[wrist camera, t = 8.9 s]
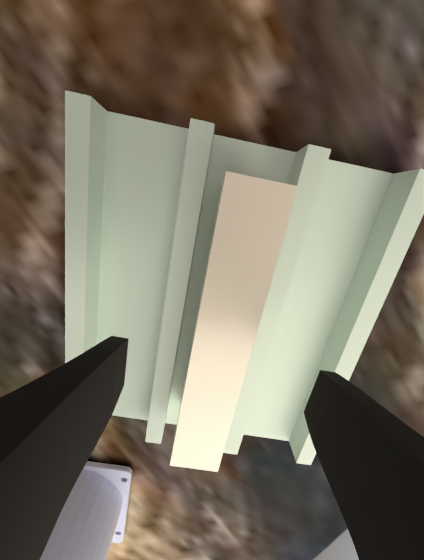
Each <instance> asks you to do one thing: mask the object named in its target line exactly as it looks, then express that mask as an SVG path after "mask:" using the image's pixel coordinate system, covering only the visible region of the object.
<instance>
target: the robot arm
mask: <svg viewBox="0 0 424 560" xmlns="http://www.w3.org/2000/svg"><path fill="white" fill-rule="evenodd" d="M128 340H129V339H128V338H122V337H116V336H110V337H109V338H107V339H105V340H103V341H102V342H100V343H99V344H97V345H95V346H94V347H92V348H90V349H89V350H87V351H85V352H84V353H82V354H80V355H79V356H77V357H75V358H74V359H72V360H70V361H69V362H67V363H65V364H63V365H62V366H60V367H58V368H56V369H55V370H53V371H51V372H49V373H47V374H45V375H43V376H41V377H40V378H38V379H36V380H34V381H32V382H30V383H28V384H27V385H25V386H23V387H21V388H19V389H17V390H15V391H13V392H11V393H9V394H7V395H5V396H3V397H1V398H0V560H106V559H107V555H108V552H109V549H110V545H111V543H121V542H122V541H123V539H124V535H125V527H126V519H127V511H128V503H129V494H130V486H131V478H132V469H131V468H130V467H128V466H121V465H114V464H106V463H99V462H91V461H88V459H89V457H90V455H91V453H92V451H93V449H94V448H95V446H96V444H97V442H98V440H99V438H100V436H101V435H102V433H103V431H104V429H105V427H106V425H107V423H108V421H109V419H110V417H111V416H112V414H113V411H114V409H115V407H116V404H117V402H118V399H119V397H120V394H121V392H122V389H123V387H124V382H125V371H126V361H127V350H128ZM304 415H305V419H306V423H307V427H308V430H309V433H310V437H311V440H312V443H313V445H314V448H315V450H316V453H317V455H318V458H319V460H320V463H321V465H322V467H323V470H324V472H325V475H326V477H327V479H328V482H329V484H330V487H331V489H332V491H333V494H334V496H335V498H336V501H337V503H338V506H339V508H340V510H341V513H342V515H343V517H344V520H345V522H346V525H347V527H348V530H349V532H350V535H351V537H352V540H353V543H354V545H355V549H356V552H357V555H358V558H359V560H424V437H423V436H421V435H420V434H418V433H417V432H416V431H414V430H413V429H412V428H410V427H409V426H408V425H406V424H405V423H404V422H402V421H401V420H400V419H398V418H397V417H396V416H394V415H393V414H392V413H390V412H389V411H388V410H386V409H385V408H384V407H382V406H381V405H380V404H378V403H377V402H376V401H375V400H373V399H372V398H371V397H369V396H368V395H367V394H365V393H364V392H363V391H361V390H360V389H359V388H357V387H356V386H355V385H353V384H352V383H351V382H349V381H348V380H346V379H345V378H344V377H342V376H341V375H339V374H337V373H336V372H330V371H324V370H320V371H319V374H318V377H317V379H316V382H315V384H314V387H313V389H312V392H311V394H310V397H309V399H308V402H307V405H306V407H305V410H304Z"/></svg>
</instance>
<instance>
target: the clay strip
mask: <svg viewBox="0 0 424 560" xmlns="http://www.w3.org/2000/svg"><path fill="white" fill-rule="evenodd" d="M297 189H298V186H295V185H290V184H285V183H281V182H276V181H271V180H266V179H262V178H257V177H252V176H247V175H243V174H238V173H233V172H228V171H226V172H225V175H224V178H223V180H222V183H221V188H220V193H219V199H218V204H217V209H216V215H215V220H214V225H213V231H212V236H211V241H210V247H209V252H208V257H207V262H206V268H205V273H204V278H203V284H202V289H201V294H200V300H199V305H198V310H197V316H196V321H195V326H194V332H193V337H192V342H191V347H190V353H189V358H188V363H187V369H186V374H185V379H184V385H183V390H182V395H181V401H180V406H179V412H178V419H177V425H176V431H175V437H174V443H173V449H172V455H171V461H170V466H177V467H185V468H192V469H199V470H207V471H214V472H218V469H219V466H220V462H221V459H222V455H223V451H224V448H225V444H226V441H227V437H228V434H229V430H230V427H231V423H232V420H233V416H234V412H235V409H236V405H237V402H238V398H239V395H240V391H241V388H242V384H243V381H244V377H245V374H246V370H247V366H248V363H249V359H250V356H251V352H252V349H253V345H254V342H255V338H256V335H257V331H258V327H259V324H260V320H261V317H262V313H263V310H264V306H265V303H266V299H267V296H268V292H269V288H270V285H271V281H272V278H273V274H274V271H275V267H276V264H277V260H278V257H279V253H280V249H281V246H282V242H283V239H284V235H285V232H286V228H287V225H288V221H289V218H290V214H291V211H292V207H293V203H294V200H295V196H296V193H297Z"/></svg>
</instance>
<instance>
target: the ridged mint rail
mask: <svg viewBox="0 0 424 560" xmlns="http://www.w3.org/2000/svg"><path fill="white" fill-rule="evenodd" d="M214 128H215V123H211V122H206V121H202V120H197V119H193V118H190V125H189V129H187V128H183V127H178V126H174V125H169V124H164V123H160V122H155V121H151V120H146V119H141V118H137V117H132V116H128V115H123V114H119V113H114V112H109V111H107V110H105V109H104V108H103V107H102V106H101V105H100V104H99V103H98V102H97V101H96V100H95V99H93V98H92V97H91V96H89V95H84V94H80V93H75V92H70V91H66V90H65V363H67V362H69V361H70V360H72V359H74V358H75V357H77V356H79V355H80V354H82V353H84V352H85V351H87V350H89V349H90V348H92V347H94V346H95V345H97V344H99V343H100V342H102V341H103V340H105V339H107V338H109V337H110V336H116V337H122V338H128V339H129V340H128V350H127V361H126V371H125V382H124V387H123V389H122V392H121V394H120V397H119V399H118V402H117V404H116V407H115V409H114V411H113V414H112V415H114V416H121V417H128V418H135V419H141V420H148V425H147V432H146V439H145V442H151V443H158V444H161V441H162V436H163V431H164V427H165V423H169V424H176V425H177V419H178V412H179V406H180V401H181V395H182V390H183V385H184V379H185V374H186V369H187V363H188V358H189V353H190V347H191V342H192V337H193V332H194V326H195V321H196V316H197V310H198V305H199V300H200V294H201V289H202V284H203V278H204V273H205V268H206V262H207V257H208V252H209V247H210V241H211V236H212V231H213V225H214V220H215V215H216V209H217V204H218V199H219V193H220V188H221V183H222V180H223V178H224V175H225V172H226V171H228V172H233V173H238V174H243V175H247V176H252V177H257V178H262V179H266V180H271V181H276V182H281V183H285V184H290V185H295V186H298V189H297V193H296V196H295V200H294V203H293V207H292V211H291V214H290V218H289V221H288V225H287V228H286V232H285V235H284V239H283V242H282V246H281V249H280V253H279V257H278V260H277V264H276V267H275V271H274V274H273V278H272V281H271V285H270V288H269V292H268V296H267V299H266V303H265V306H264V310H263V313H262V317H261V320H260V324H259V327H258V331H257V335H256V338H255V342H254V345H253V349H252V352H251V356H250V359H249V363H248V366H247V370H246V374H245V377H244V381H243V384H242V388H241V391H240V395H239V398H238V402H237V405H236V409H235V412H234V416H233V420H232V423H231V427H230V430H229V434H228V437H227V441H226V444H225V448H224V451H223V453H229V454H236V455H237V454H238V450H239V447H240V444H241V441H242V438H243V434H244V435H251V436H258V437H265V438H272V439H279V440H286V441H289V442H290V445H291V448H292V451H293V454H294V457H295V460H296V463H300V464H307V465H311V464H312V461H313V459H314V457H315V455H316V450H315V448H314V445H313V443H312V440H311V437H310V433H309V430H308V427H307V423H306V419H305V415H304V410H305V407H306V405H307V402H308V399H309V397H310V394H311V392H312V389H313V387H314V384H315V382H316V379H317V377H318V374H319V371H320V370H324V371H330V372H336V373H337V374H339V375H341V376H342V377H344V378H345V379H346V380H348V381H349V379H350V377H351V375H352V372H353V370H354V368H355V366H356V363H357V361H358V359H359V357H360V354H361V352H362V350H363V348H364V346H365V343H366V341H367V339H368V337H369V334H370V332H371V330H372V328H373V326H374V323H375V321H376V319H377V317H378V314H379V312H380V310H381V308H382V305H383V303H384V301H385V299H386V297H387V294H388V292H389V290H390V288H391V285H392V283H393V281H394V279H395V277H396V274H397V272H398V270H399V268H400V265H401V263H402V261H403V259H404V256H405V254H406V252H407V250H408V248H409V245H410V243H411V241H412V239H413V236H414V234H415V232H416V230H417V228H418V225H419V223H420V221H421V219H422V216H423V214H424V170H423V169H416V170H411V171H405V172H400V173H395V174H393V173H389V172H384V171H380V170H375V169H371V168H366V167H361V166H357V165H352V164H348V163H343V162H338V161H334V160H329V155H330V152H331V149H328V148H324V147H319V146H315V145H310V144H308V145H307V146H305V147H303V148H302V149H300V150H299V151H297V152H293V151H288V150H283V149H279V148H274V147H270V146H265V145H261V144H256V143H251V142H247V141H242V140H238V139H233V138H229V137H224V136H219V135H215V134H214Z"/></svg>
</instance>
